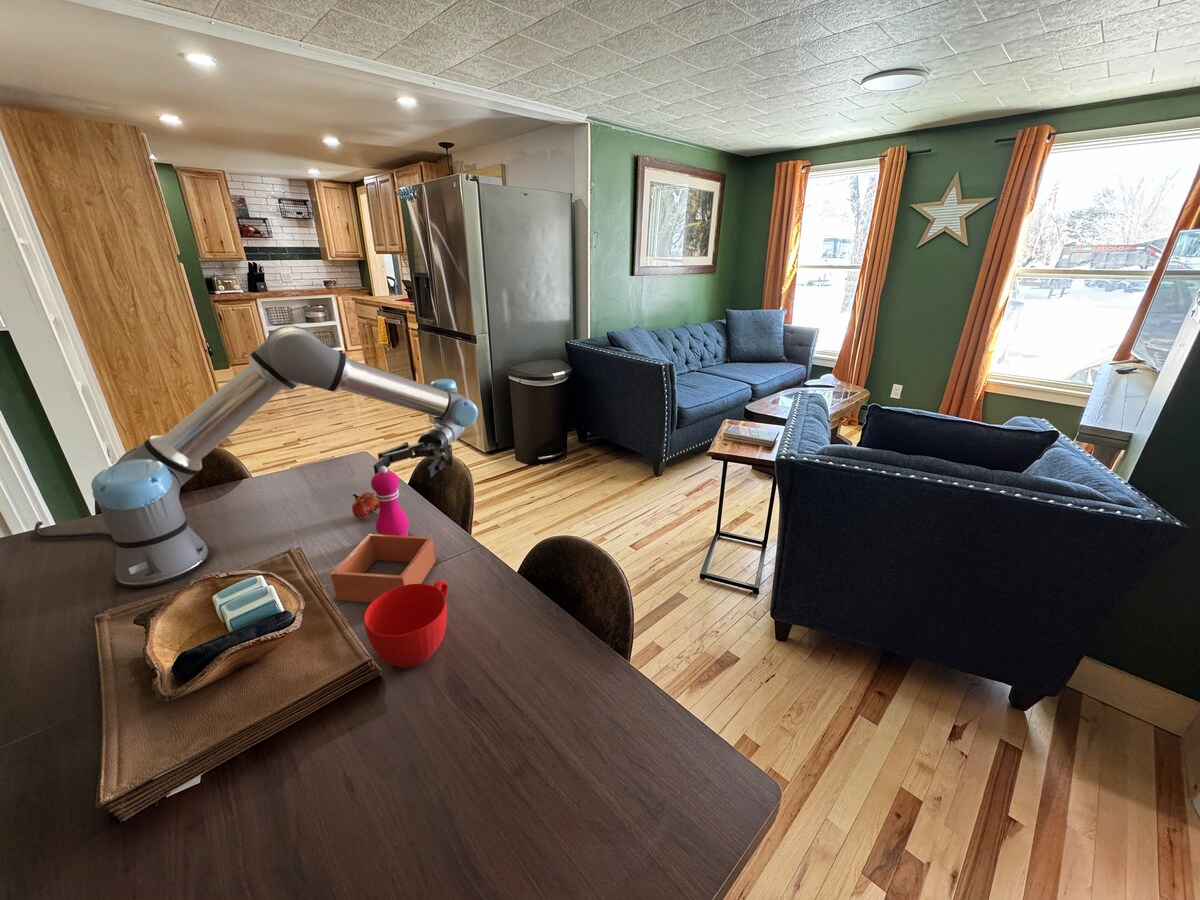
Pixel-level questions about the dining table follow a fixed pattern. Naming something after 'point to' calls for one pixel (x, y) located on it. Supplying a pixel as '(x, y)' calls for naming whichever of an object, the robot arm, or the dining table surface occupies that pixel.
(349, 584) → the open wooden tray
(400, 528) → the pepper mill
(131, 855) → the dining table surface
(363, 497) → the pomegranate
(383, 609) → the ceramic cup
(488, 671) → the dining table surface
